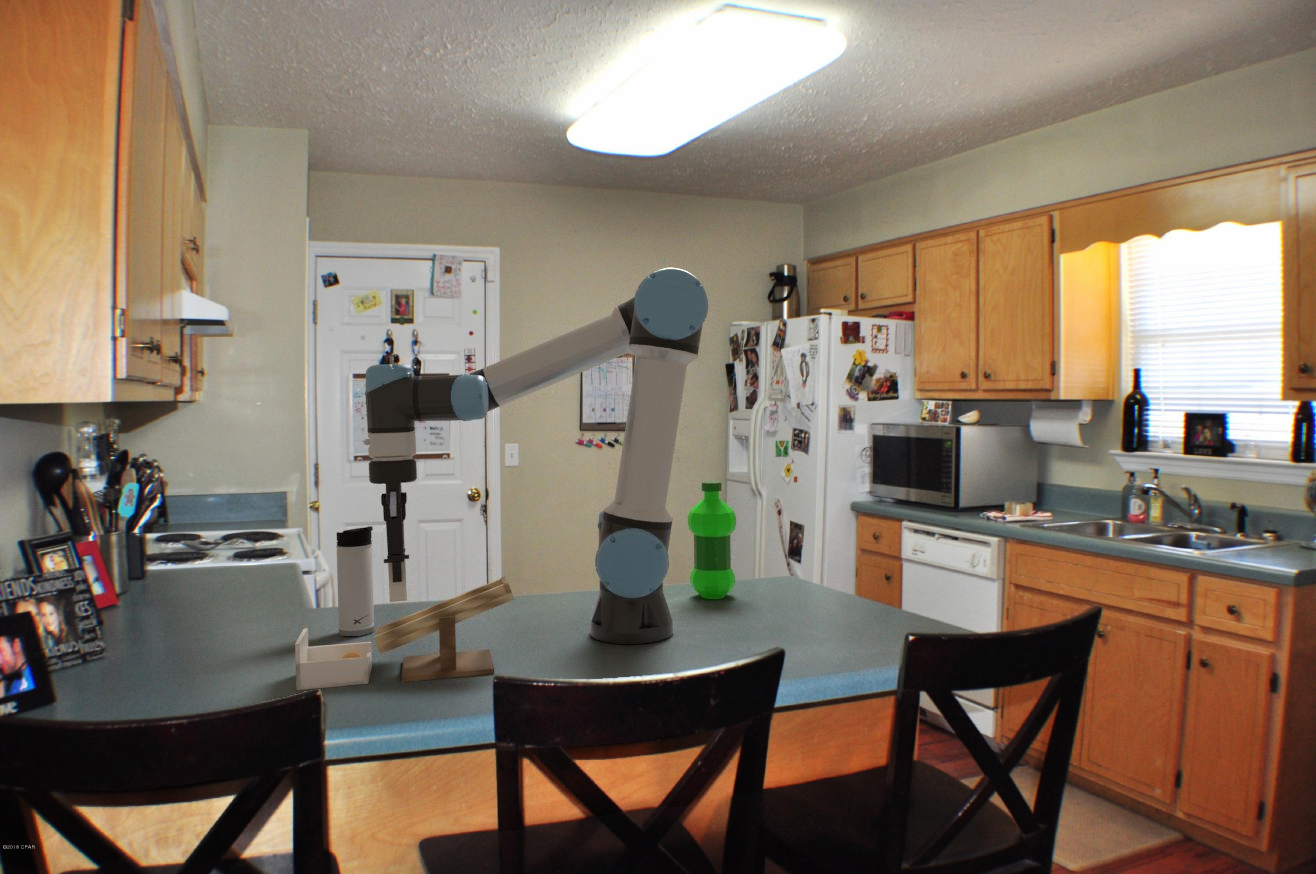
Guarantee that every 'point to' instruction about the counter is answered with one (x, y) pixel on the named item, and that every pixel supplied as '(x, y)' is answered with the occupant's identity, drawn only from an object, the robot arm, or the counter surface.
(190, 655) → the counter surface
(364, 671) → the white open box
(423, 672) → the stand
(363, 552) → the travel mug
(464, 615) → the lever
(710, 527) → the plastic bottle
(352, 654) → the ball
